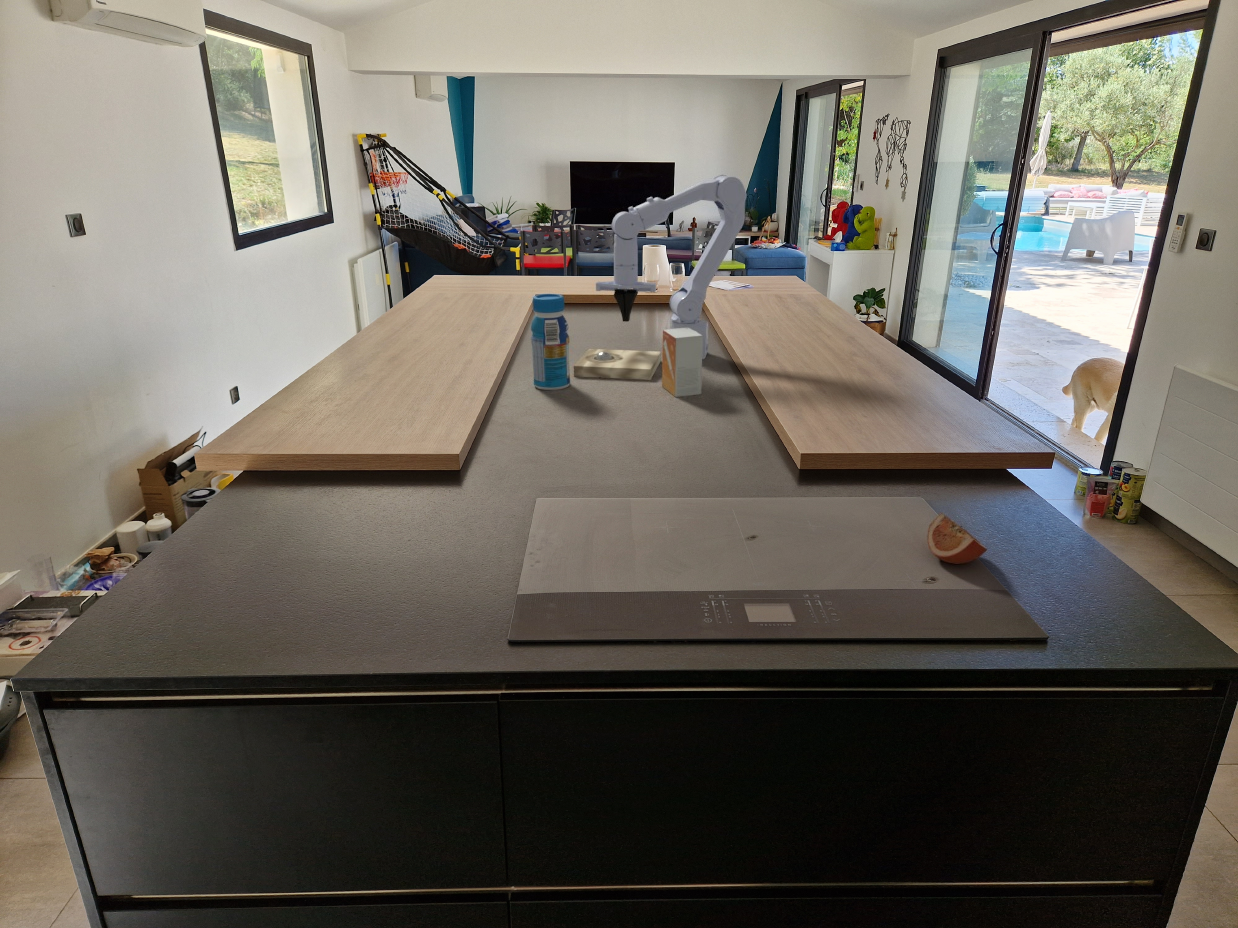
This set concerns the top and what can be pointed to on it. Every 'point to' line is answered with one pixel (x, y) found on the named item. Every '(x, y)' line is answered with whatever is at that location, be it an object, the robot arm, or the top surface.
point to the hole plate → (618, 364)
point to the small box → (682, 361)
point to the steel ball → (603, 356)
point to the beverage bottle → (550, 343)
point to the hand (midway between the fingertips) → (626, 320)
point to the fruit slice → (952, 541)
